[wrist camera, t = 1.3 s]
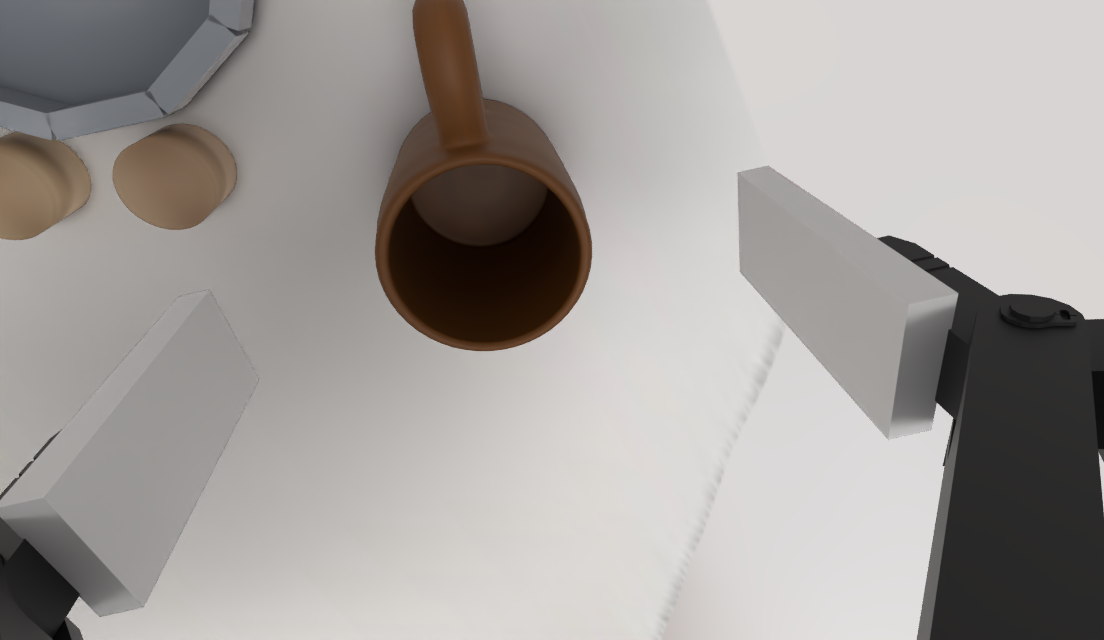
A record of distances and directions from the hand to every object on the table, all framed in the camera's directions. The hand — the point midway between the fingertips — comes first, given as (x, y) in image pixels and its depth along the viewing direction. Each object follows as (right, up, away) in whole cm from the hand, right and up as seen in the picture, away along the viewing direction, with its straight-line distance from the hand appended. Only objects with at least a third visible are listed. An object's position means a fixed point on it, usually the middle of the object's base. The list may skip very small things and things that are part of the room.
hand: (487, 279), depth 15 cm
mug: (-2, +8, +12) cm, 15 cm away
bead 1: (-20, +5, +11) cm, 23 cm away
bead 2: (-14, +6, +11) cm, 19 cm away
